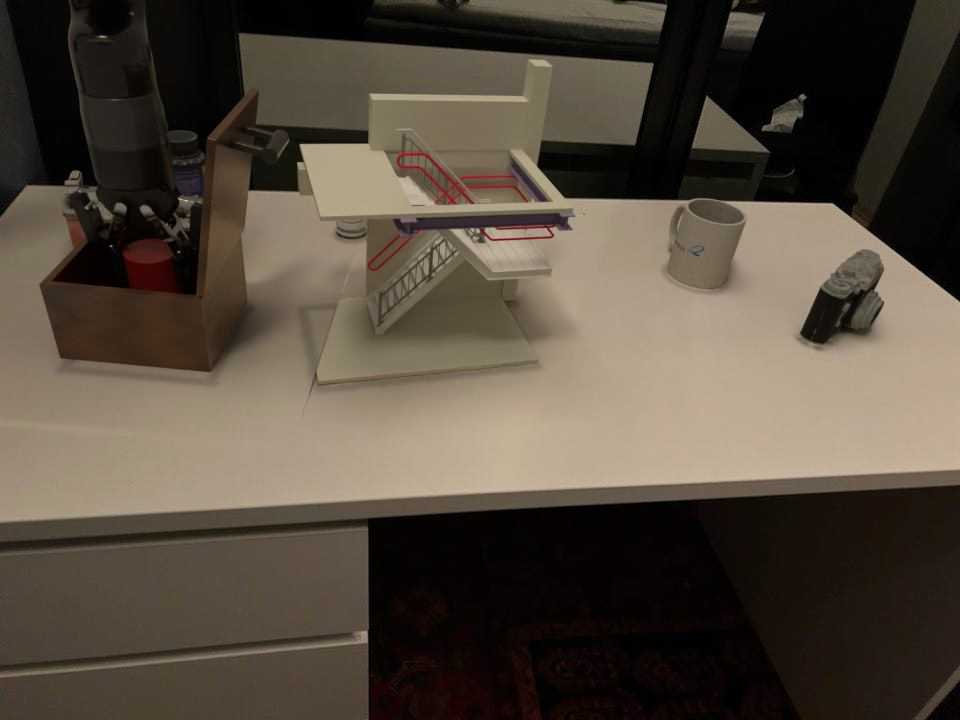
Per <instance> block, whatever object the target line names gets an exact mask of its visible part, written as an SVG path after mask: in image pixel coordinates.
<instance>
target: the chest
mask: <svg viewBox="0 0 960 720" xmlns="http://www.w3.org/2000/svg"><path fill="white" fill-rule="evenodd" d="M103 220H104V222H105V224H106V227H107V229H108V230H109V227H110V223H111V220H112V219H109V218H103ZM166 226H167V227H168V224H166ZM183 230H184V232H185V233H186V235H187V236H188V238H189V233H190V227H186V226H185V227H184V226H183ZM144 239H160V238H159V236H158V235H157V233H156V232H155V231H149V230H146V229H142V228H140V229H129V231H128V234H127V237H126V240H125V244H128V245H129V244H131V243H133V242H136V241H139V240H144ZM191 257H192V263H193V269H194V273H193V276H192V278H191V279H190V281H189V282H187V284H186V285H185V286H183V287H184V293H185V294H178V293H167V292H157V291H147V290H137V289H130V287H129V282H128V281H121V280H120V278H119V276H116V274H115V273H114V271H113V266H112V262H111V258H110V253H109V251H108V250H107V249H106V248H105V247H103V246H101V245H97V246H93V245H91V244H89V242H88V241H87V238H86V237H85V238H84V239H83V240H82V241H81V242H80V243H79V244H78V245H77V246H76V247H75V248H74V249H72V250H71V251H70V252H69V253H68V254H67V255H66V256H65V257H64V258H63V259H62V260H61V261H60V262H59V263H58V264H57V265H56V266H55V267H54V268H53V269H52V270H51V272H50V273H48V275H46V277H45V278H44V279H43V280H42V281H41V282H40V283H39V284H38V285H39V289H40V293H41V296H42V299H43V303H44V307H45V310H46V313H47V317H48V320H49V323H50V324H49V325H50V327H51V331H52V333H53V334H52V335H53V337H54V341H55V345H56V348H57V351H58V354H59V355H58V356H59V358H60V359H63V360H74V361H85V362H94V363H107V364H117V365H129V366H138V367H139V366H140V367H148V368H149V367H150V368H159V369H160V368H161V369H173V370H181V371H182V370H183V371H193V372H204V373H212V371H213V368H214V366H215V365H216V363H217V361H218V359H219V357H220V355H221V353H222V351H223V349H224V347H225V345H226V343H227V341H228V339H229V337H230V335H231V334H232V331H233V329H234V327H235V326H236V324H237V321H238V319H239V318H240V316H241V314H242V311H243V310H244V307H245V306H246V304H247V302H248V291H247V281H246V280H247V279H246V269H245V258H244V248H243V238H242V235H241V236H240V238H239V239H238V241H237V243H236V244H235V246H234V248H233V249H232V251H231V253H230V254H229V256H228V258H227V259H226V261H225V263H224V264H223V266H222V268H221V269H220V271H219V273H218V274H217V276H216V278H215V279H214V281H213V283H212V284H211V286H210V288H209V289H208V291H207V293H206V294H205V296H199V295H196V290H197V276H198V261H199V254H198V255H194V254H191Z"/></svg>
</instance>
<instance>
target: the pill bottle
mask: <svg viewBox="0 0 960 720" xmlns="http://www.w3.org/2000/svg"><path fill="white" fill-rule="evenodd" d="M168 136H169V143H170V149H171V155H172V161H173V167H174V174H175V183H176V186H177V188H178V189H179V191H180V192H181V194H182V195H183V196H187V197H191V198H196V199H198V197H200V196H203V188H204V173H205V158H206V154H205V153H204V152H203V151H202V150H201V149H199V148H198V147H199V143H200V142H199V137H198V134H197V133H195V132H194V131H190V130H182V129H179V130H169V131H168ZM175 213H176V214H177V216H178V217H182V218H186V216H185V212H184V210H183V209H182V208H181V207H178V208H177V210H176V211H175Z"/></svg>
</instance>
